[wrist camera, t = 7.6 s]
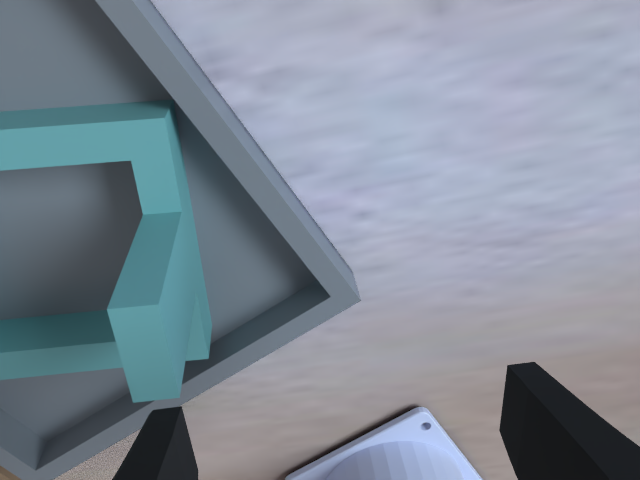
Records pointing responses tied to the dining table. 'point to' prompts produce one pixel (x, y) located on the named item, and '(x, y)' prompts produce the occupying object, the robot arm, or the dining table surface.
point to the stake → (7, 475)
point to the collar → (142, 260)
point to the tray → (124, 218)
